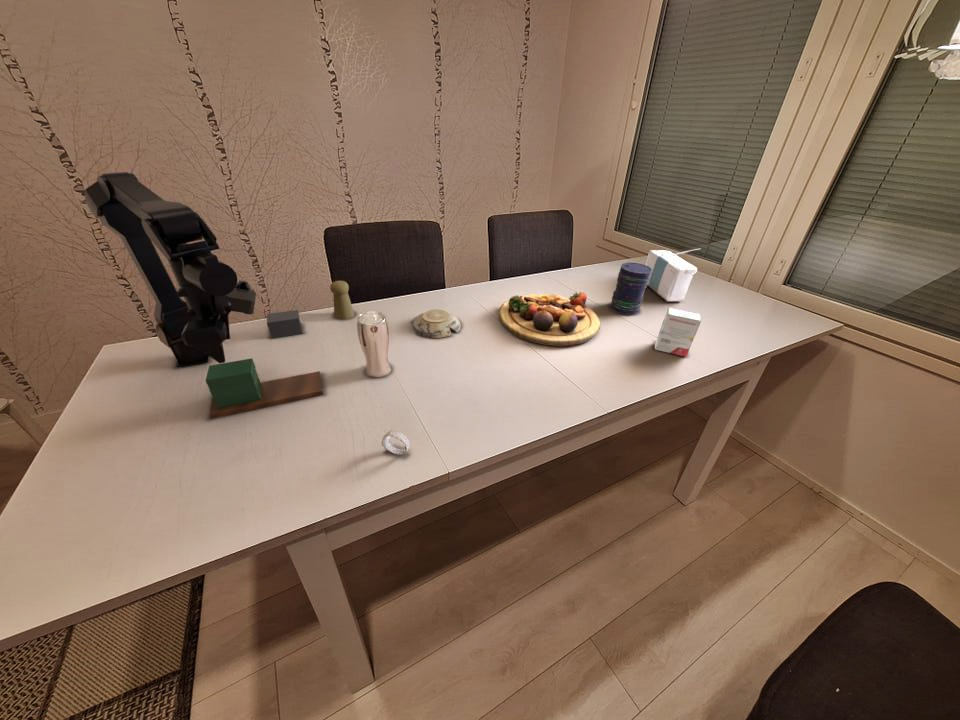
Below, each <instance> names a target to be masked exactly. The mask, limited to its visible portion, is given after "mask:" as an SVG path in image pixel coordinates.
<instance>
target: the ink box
mask: <svg viewBox="0 0 960 720" xmlns="http://www.w3.org/2000/svg"><path fill="white" fill-rule="evenodd" d="M701 323H702V317H701V314H699V313H695V312H690V311H685V310H680V309H676V308H672V307H668V308H667V310H666V313H665V314H664V318H663V321H662V324H661V327H660V329H659V332H658V335H657V336H656V337H657V338H656V341H655V343H654V349H655V351H661V352H664V353H669V354H673V355H677V356H680V357H687V356H688V354H689V351H690V348H691V346H692V344H693V341H694V339H695V337H696V334H697V332H698V330H699V327H700V325H701Z"/></svg>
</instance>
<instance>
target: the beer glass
mask: <svg viewBox="0 0 960 720" xmlns="http://www.w3.org/2000/svg"><path fill="white" fill-rule="evenodd" d="M356 329H357V336H358V342H359V344H360V348H361V350H362V352H363V356H364V359H365V363H366V364H365V373H366V375H367V376H369V377H371V378H383V377H386V376H387V375H389V373H390V372H391V371H392V368H391V364H390V362H389V345H390V333H389V332H390V331H389V327H388V321H387V315H386V314H385V313H384V312H380V311H376V310H375V311H373V310H371V311H365V312H363V313H360V314H358V315H357V317H356Z"/></svg>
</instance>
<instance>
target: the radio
mask: <svg viewBox="0 0 960 720" xmlns="http://www.w3.org/2000/svg"><path fill="white" fill-rule="evenodd" d="M696 250H702V248H701V247H698V248H694V249H690V250H685V251H680V252H676V253H673V252H672V251H670V250H663V249H662V250H661V249H659V250H657V249H655V250H654V249H653V250H651V249H650V250H649V251H648V253H647V257H646V259H645V263H644V265H646V266H648V267H650V268H651V269H652V271H651V274H650V279H649V282H648V285H647V287H649V288H651V290H653V291H654V292H655V293H657V295H659V296H660V297H661V298H663V300H665V301H666V302H667V303H668V302H683V301H684V300H685V298H686V294H687V292H688V290H689V287H690V284H691V282H692V279H693V277H694V275H695V274H696V273H697V271H698V268H697V267H696V266H694V265H693V264H691V263H689V262H688V261H686V260H684V259H683V258H681V257H679V256H678V255H681V254H686V253H689V252H693V251H696Z"/></svg>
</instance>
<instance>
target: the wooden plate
mask: <svg viewBox="0 0 960 720" xmlns="http://www.w3.org/2000/svg"><path fill="white" fill-rule="evenodd" d="M587 299H588V297H587V294H586V293H585V292H583V291H582V292H581V291H579V292H574V293H572V295H569V297H568V298H567V297H565V296H561V295H559V294H554V293H553V294H546V293H545V294H544V293H543V294H542V293H531V294H524V295H513V296H511V297H510V298H509V300H507V301H506V302H504V303H503V304H502V305H501V307H500V309H499V314H498V317H499V319H500V322H501V323H502V325H503V326H504V328H506V330H508V331H509V332H510V333H511V334H513V335H514V336H517V337H519V338H521V339H523V340H526V341H528V342H532V343H535V344H540V345H545V346H546V345H547V346H553V347H554V346H555V347H556V346H559V347H561V346H564V347H565V346H566V347H567V346H575V345H579V344H583V343H586V342H588V341H590V340H592V339H593V338H594V337H596V336H597V334H598V333H599V331H600V328H601V321H600V318H599V316H598V315H597V314H596V313H595V312H594V310H593V309H591V308H590V307H588V306H586V303H587Z"/></svg>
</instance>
